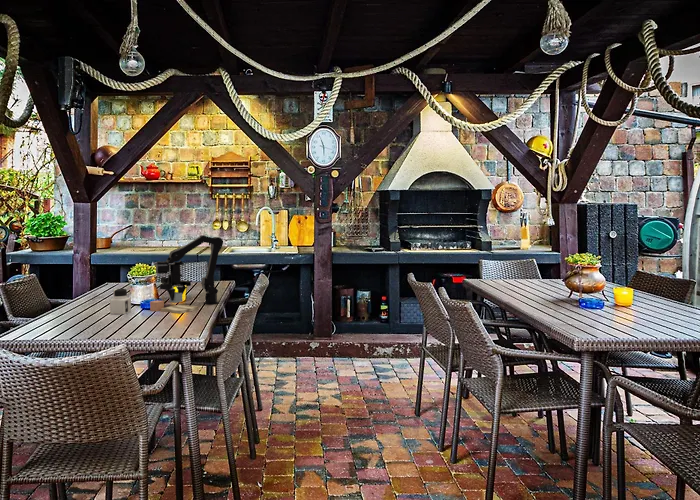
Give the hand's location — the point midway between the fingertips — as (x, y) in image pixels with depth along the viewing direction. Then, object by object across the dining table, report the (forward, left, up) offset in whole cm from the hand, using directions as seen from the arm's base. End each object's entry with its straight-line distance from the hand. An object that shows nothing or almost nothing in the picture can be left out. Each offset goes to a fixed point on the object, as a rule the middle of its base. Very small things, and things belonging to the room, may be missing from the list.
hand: (176, 299), depth 313 cm
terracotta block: (+14, 0, -4) cm, 14 cm away
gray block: (0, 0, -1) cm, 1 cm away
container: (+29, -11, -4) cm, 31 cm away
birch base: (+8, +11, -4) cm, 14 cm away
